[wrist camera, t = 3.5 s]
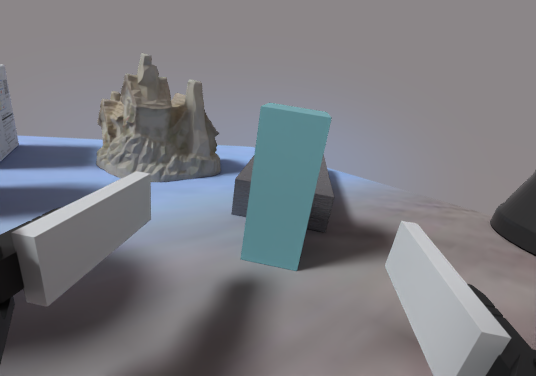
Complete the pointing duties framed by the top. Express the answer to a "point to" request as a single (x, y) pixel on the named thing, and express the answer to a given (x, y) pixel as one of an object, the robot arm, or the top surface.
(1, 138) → the light bulb box
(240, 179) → the grey block with holes
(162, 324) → the top surface
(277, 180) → the teal peg
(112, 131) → the ceramic cottage
